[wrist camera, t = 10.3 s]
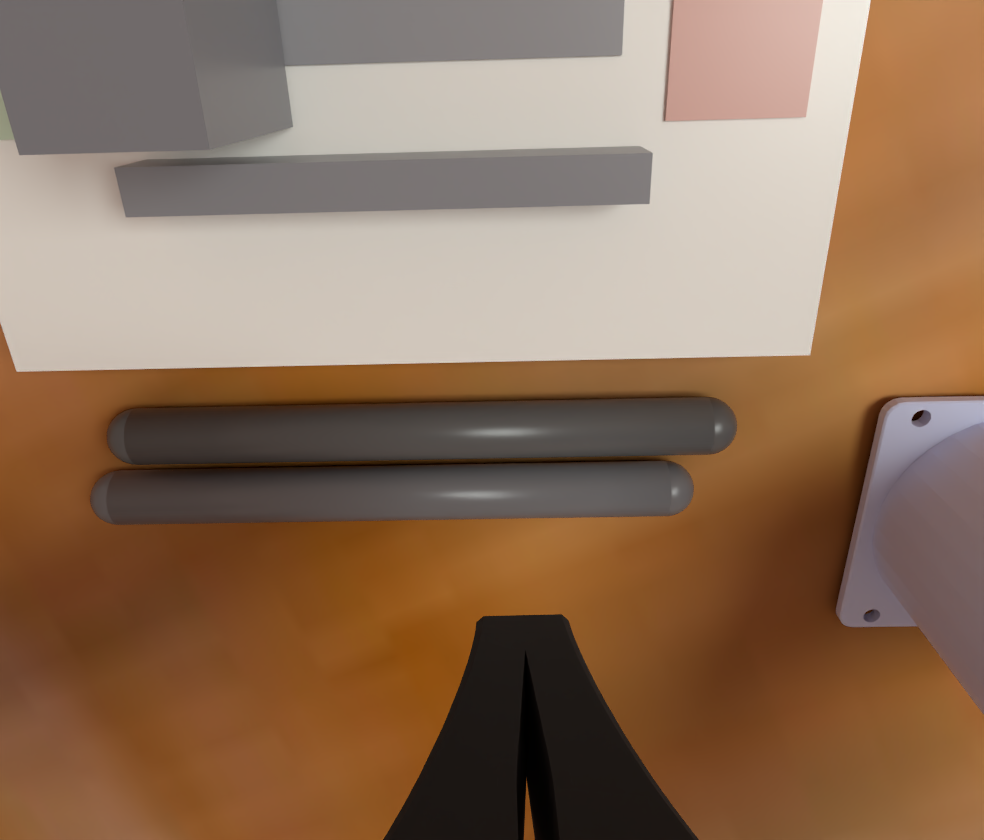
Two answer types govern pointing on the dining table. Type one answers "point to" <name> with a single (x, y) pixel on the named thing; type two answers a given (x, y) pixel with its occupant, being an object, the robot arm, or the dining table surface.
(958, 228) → the dining table surface
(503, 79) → the white board with rails
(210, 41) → the switch knob
